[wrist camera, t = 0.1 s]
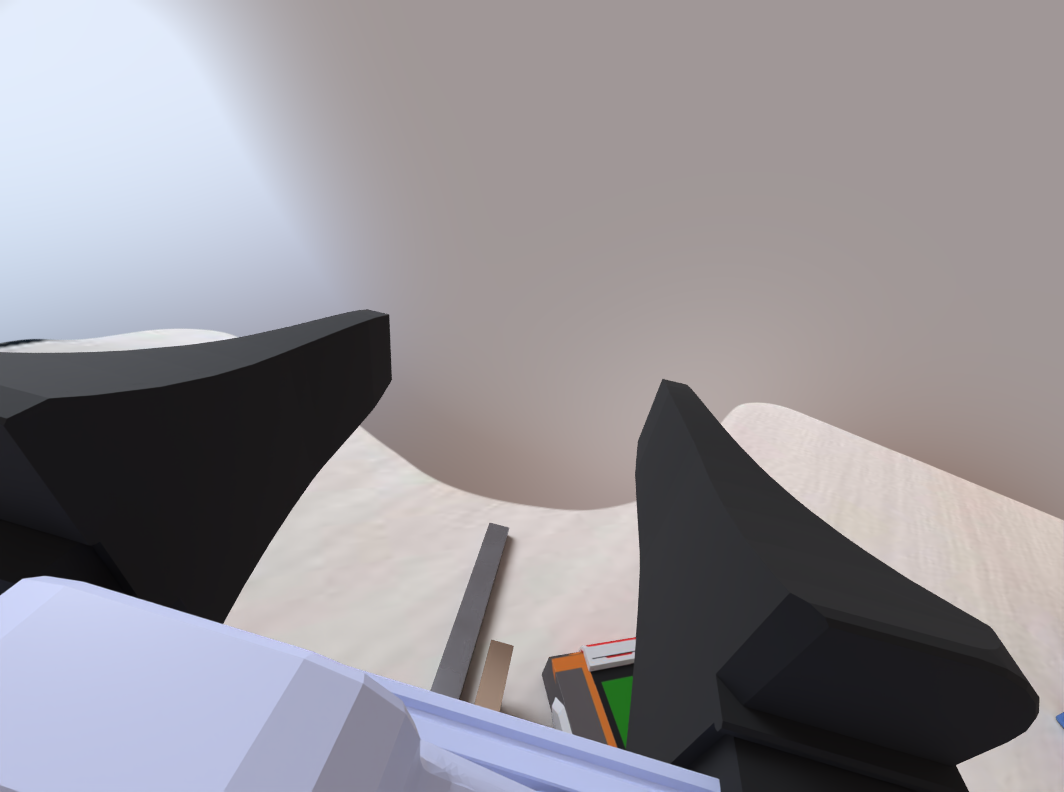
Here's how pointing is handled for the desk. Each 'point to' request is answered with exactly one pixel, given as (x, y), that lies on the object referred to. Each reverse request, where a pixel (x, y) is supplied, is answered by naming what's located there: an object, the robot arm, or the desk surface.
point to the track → (470, 615)
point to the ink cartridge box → (1061, 719)
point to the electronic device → (592, 691)
